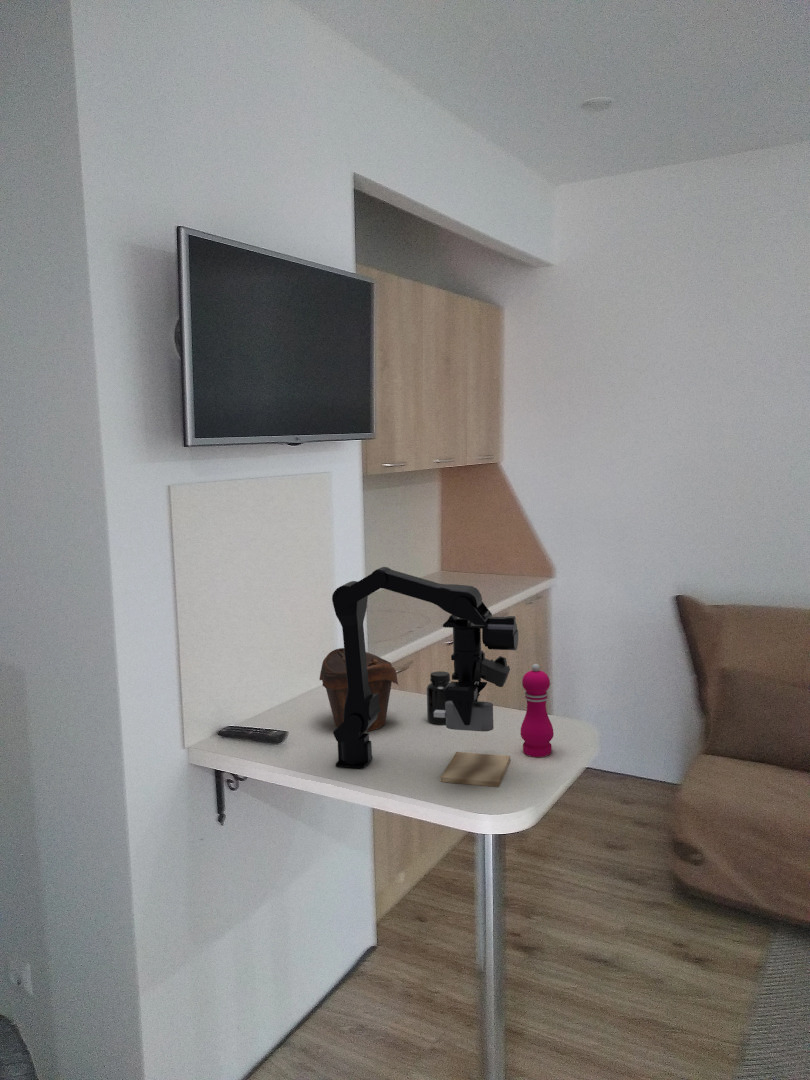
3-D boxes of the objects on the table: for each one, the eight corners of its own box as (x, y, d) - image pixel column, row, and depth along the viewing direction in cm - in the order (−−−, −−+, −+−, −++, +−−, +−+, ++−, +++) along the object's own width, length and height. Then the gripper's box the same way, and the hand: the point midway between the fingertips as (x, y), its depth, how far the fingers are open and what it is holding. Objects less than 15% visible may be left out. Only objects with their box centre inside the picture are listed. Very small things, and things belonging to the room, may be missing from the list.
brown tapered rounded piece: (389, 738, 192) (386, 663, 190) (310, 734, 197) (306, 661, 196) (409, 715, 209) (406, 646, 207) (335, 711, 214) (332, 644, 213)
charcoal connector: (432, 728, 170) (432, 704, 170) (437, 721, 174) (436, 698, 173) (491, 732, 167) (491, 708, 166) (495, 725, 170) (494, 702, 170)
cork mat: (440, 781, 167) (440, 777, 167) (456, 756, 180) (456, 751, 180) (498, 786, 163) (498, 782, 163) (510, 760, 177) (510, 755, 176)
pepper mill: (560, 751, 180) (559, 663, 178) (539, 760, 176) (537, 670, 173) (535, 743, 186) (533, 657, 184) (514, 752, 181) (512, 664, 179)
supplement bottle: (452, 725, 200) (451, 677, 198) (425, 724, 201) (423, 677, 200) (456, 716, 206) (455, 670, 205) (430, 715, 208) (428, 669, 206)
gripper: (497, 661, 157) (499, 740, 159) (513, 638, 174) (515, 709, 176) (441, 659, 160) (444, 736, 162) (462, 637, 178) (464, 706, 179)
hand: (469, 721), depth 170 cm, fingers closed on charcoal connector, 4 cm apart
